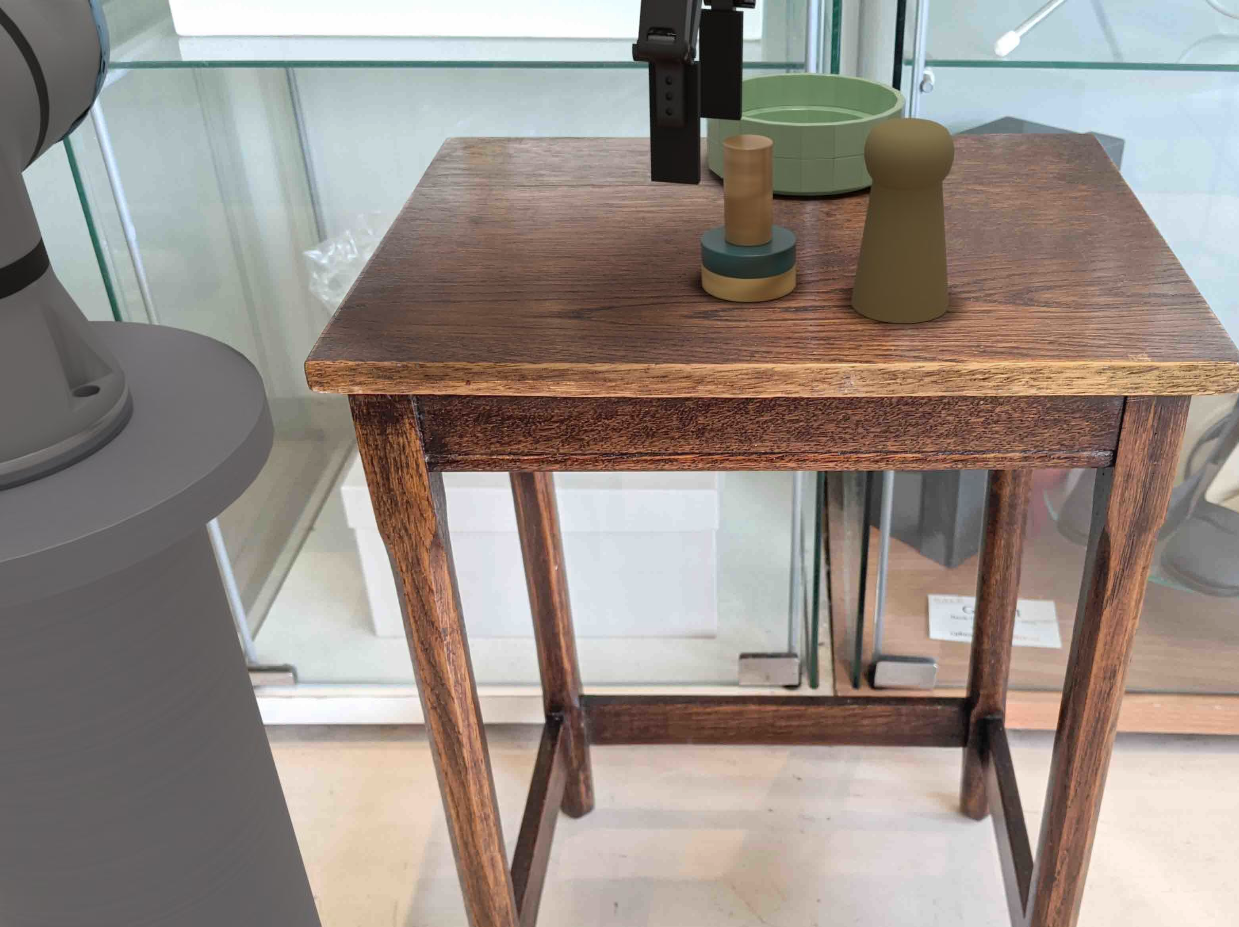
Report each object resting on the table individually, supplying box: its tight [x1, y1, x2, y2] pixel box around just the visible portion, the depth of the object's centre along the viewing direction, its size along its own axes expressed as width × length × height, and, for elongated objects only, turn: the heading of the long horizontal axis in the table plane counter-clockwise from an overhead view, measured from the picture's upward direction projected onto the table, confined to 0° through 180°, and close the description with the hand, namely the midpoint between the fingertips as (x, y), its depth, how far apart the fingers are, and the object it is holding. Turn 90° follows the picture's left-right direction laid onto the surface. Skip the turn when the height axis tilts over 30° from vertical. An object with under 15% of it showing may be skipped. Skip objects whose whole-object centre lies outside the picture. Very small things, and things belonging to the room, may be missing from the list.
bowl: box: [705, 72, 907, 197], centre depth 101 cm, size 15×15×6 cm
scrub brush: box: [700, 135, 797, 303], centre depth 81 cm, size 6×6×9 cm
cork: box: [850, 117, 956, 324], centre depth 77 cm, size 6×6×11 cm
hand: (699, 148), depth 79 cm, fingers open, 13 cm apart
